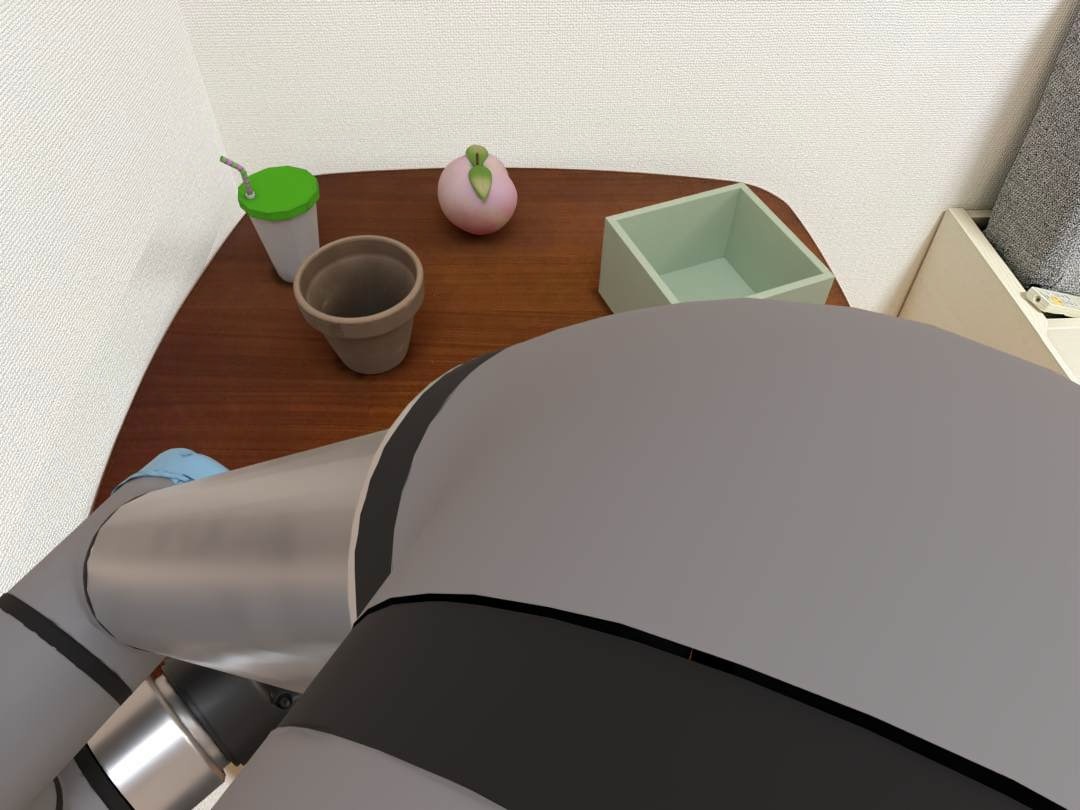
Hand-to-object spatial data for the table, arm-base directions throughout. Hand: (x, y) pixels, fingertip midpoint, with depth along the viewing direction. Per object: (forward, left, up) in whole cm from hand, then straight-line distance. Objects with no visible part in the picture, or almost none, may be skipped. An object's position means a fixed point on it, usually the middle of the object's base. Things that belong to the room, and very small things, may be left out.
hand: (492, 483), depth 57 cm
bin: (+18, -29, -11) cm, 36 cm away
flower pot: (+26, +3, -11) cm, 29 cm away
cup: (+41, +7, -11) cm, 43 cm away
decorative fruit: (+40, -13, -11) cm, 44 cm away
